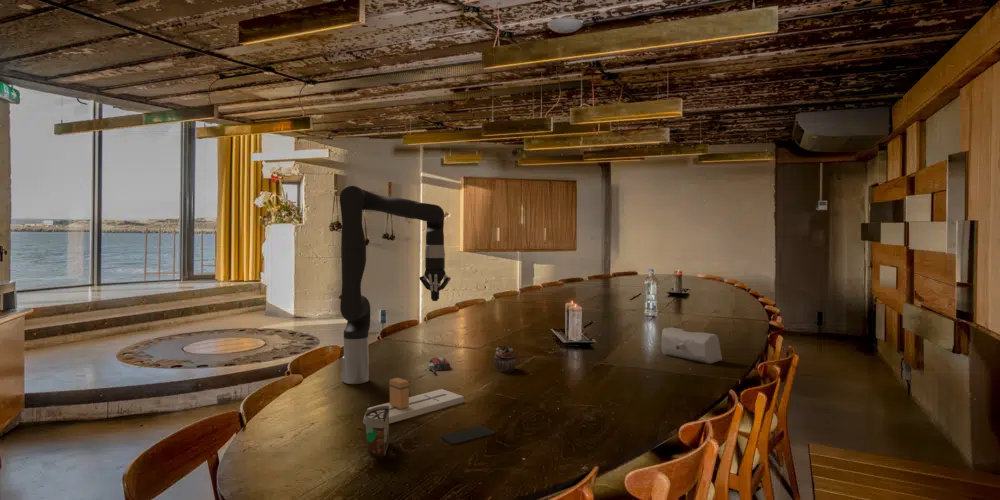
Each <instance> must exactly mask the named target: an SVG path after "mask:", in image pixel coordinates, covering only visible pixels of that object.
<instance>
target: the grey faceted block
mask: <svg viewBox="0 0 1000 500" xmlns="http://www.w3.org/2000/svg"><path fill="white" fill-rule="evenodd" d="M661 332H662V333H661V344H660V345H661V352H662V354H663V355H664V356H670V357H674V358H680V359H684V360H689V361H694V362H699V363H703V364H707V365H711V364H714V363H717V362H718V363H719V362H720V361H723V357H722V352H721V346H720V345H721V344H720V341H719V339H720V338H719V336H718V335H717V334H715V333H709V332H708V333H707V332H701V331H696V332H694V331H693V332H692V331H685V330H684V329H683V328H676V327H671V326H670V327H666V328H663V329H662V331H661Z"/></svg>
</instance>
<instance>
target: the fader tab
mask: <svg viewBox="0 0 1000 500" xmlns="http://www.w3.org/2000/svg"><path fill="white" fill-rule="evenodd" d="M409 383H410V381H409V380H406V379H403V378H400V377H394V378H391V379H389V384H388V385H389V386H388V387H389V402H390V405H392V406H394V407H397V408H399V409H402V408H406V407H409V397H410V396H409V395H410V391H409V388H410V385H409Z"/></svg>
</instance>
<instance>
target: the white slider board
mask: <svg viewBox="0 0 1000 500" xmlns="http://www.w3.org/2000/svg"><path fill="white" fill-rule="evenodd" d="M464 398H465V396H463V395H460V394H458V393H455V392H452V391H448V390H445V389H443V388H441V389H437V390H436V389H435V390H434V391H432V390H431V391H429V392H424V393H421V394H417V395H413V396H409V407H406V408H402V409H399V408H397V407H394V406H392V405H390V401H389V402H386V403H382V404H378V405H374V406H371V407H368V408H366V409H367V410H366V411H368V410H370V409H372V408H375V407H379V406H389V425H390V424H392V423H396V422H400V421H403V420H407V419H410V418H413V417H418V416H420V415H424V414H427V413H430V412H434V411H438V410H441V409H445V408H448V407H452V406H456V405H458V404H462V403H464Z"/></svg>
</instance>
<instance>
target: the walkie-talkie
mask: <svg viewBox="0 0 1000 500" xmlns="http://www.w3.org/2000/svg"><path fill="white" fill-rule="evenodd" d="M427 367H428V371H432V372H433V374H435V375H436V374H437V371H444V370H445V371H446V370H447V371H449V370H450V369H451V363H449V361H448V360H447V358H445V357H443V356H436V357H432V358H431V359H430V360H429V363H428V366H427Z"/></svg>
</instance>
